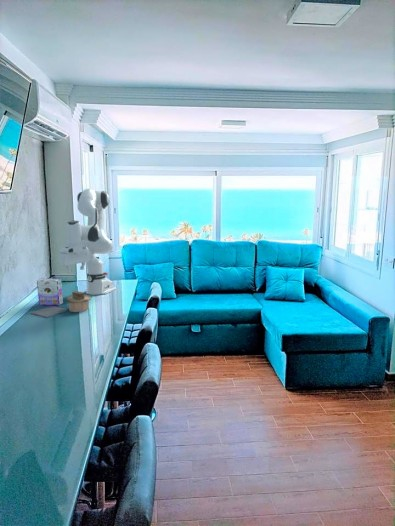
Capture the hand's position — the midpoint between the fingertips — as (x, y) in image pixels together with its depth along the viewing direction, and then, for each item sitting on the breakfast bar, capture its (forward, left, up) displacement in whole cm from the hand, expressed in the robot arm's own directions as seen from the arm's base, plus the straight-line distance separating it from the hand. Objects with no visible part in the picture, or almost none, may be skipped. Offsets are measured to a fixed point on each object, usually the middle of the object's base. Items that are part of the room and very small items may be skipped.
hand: (76, 270), depth 222 cm
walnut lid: (0, 0, -18) cm, 18 cm away
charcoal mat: (+13, -11, -24) cm, 29 cm away
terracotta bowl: (0, 0, -24) cm, 24 cm away
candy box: (+2, -23, -24) cm, 33 cm away
